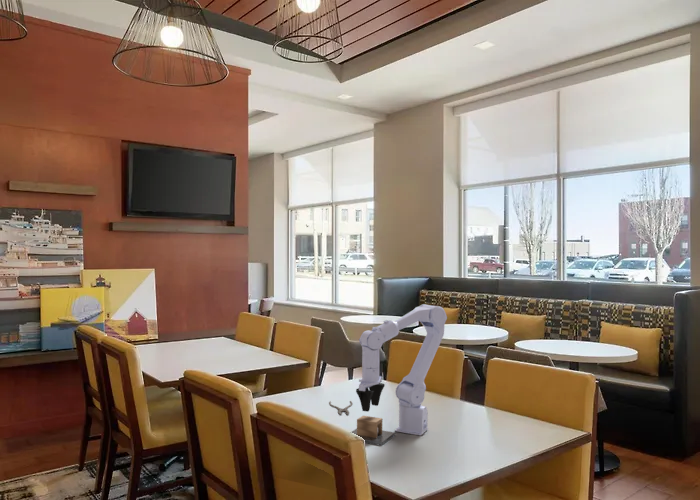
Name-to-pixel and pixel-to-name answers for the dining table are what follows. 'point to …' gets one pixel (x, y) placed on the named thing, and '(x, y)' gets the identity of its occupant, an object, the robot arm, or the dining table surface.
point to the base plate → (380, 438)
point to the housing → (369, 426)
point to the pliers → (342, 409)
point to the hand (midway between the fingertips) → (370, 408)
